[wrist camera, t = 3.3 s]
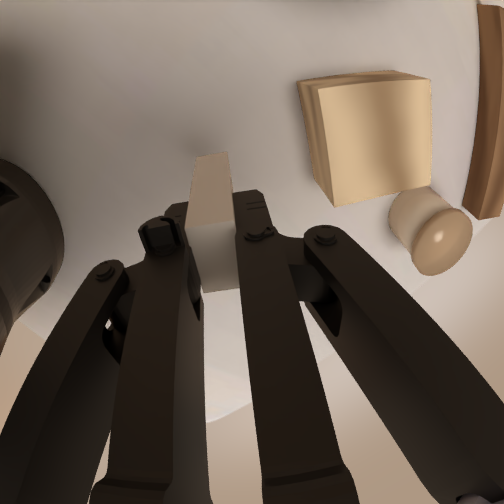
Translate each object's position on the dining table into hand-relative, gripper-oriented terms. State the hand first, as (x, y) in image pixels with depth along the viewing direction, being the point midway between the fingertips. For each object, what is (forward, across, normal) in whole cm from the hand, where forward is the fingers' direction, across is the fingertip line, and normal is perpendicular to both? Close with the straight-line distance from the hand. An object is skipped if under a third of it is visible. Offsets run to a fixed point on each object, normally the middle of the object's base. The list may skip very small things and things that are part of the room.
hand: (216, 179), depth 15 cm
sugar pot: (+8, +18, -9) cm, 21 cm away
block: (+8, +11, 0) cm, 13 cm away
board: (+8, +27, +2) cm, 28 cm away
